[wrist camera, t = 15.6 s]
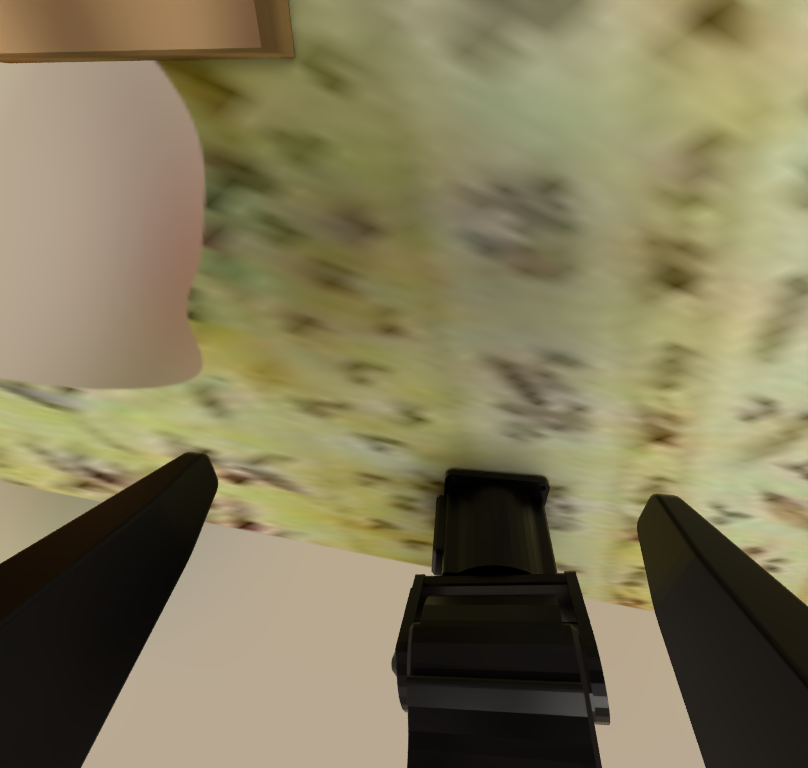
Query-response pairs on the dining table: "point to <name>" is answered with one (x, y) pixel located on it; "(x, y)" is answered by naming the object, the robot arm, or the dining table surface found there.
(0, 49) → the brown wooden square frame
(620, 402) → the dining table surface
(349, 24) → the dining table surface
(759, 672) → the robot arm
